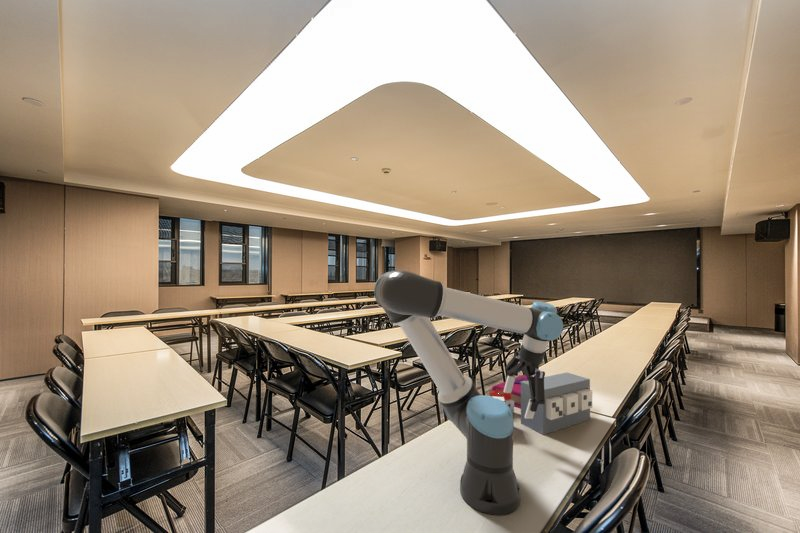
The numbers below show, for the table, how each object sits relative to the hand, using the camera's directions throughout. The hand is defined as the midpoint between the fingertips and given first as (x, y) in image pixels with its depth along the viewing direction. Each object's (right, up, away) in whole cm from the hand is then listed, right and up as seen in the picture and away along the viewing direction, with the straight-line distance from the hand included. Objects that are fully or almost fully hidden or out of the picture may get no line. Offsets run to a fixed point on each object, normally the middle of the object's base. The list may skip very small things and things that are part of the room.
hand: (517, 404), depth 111 cm
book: (+20, -15, +41) cm, 48 cm away
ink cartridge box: (+2, -14, +23) cm, 27 cm away
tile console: (+21, -14, +17) cm, 30 cm away
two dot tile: (+32, -8, +16) cm, 37 cm away
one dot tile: (+24, -8, +12) cm, 28 cm away
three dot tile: (+16, -8, +7) cm, 19 cm away
